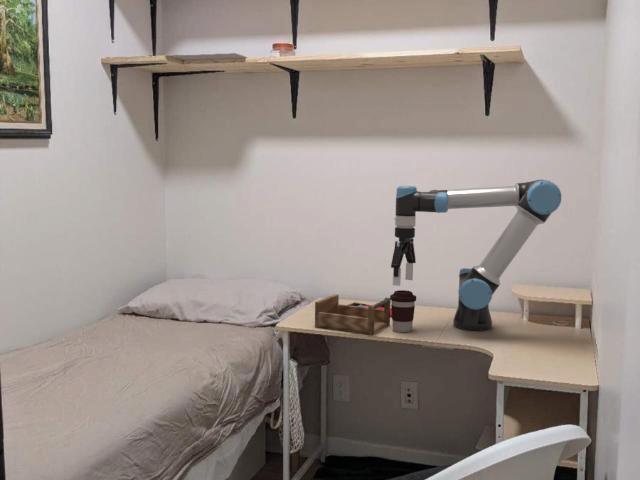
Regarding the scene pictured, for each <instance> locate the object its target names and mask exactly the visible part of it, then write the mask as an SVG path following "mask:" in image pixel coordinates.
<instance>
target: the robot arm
mask: <svg viewBox="0 0 640 480" xmlns="http://www.w3.org/2000/svg"><path fill="white" fill-rule="evenodd" d="M395 193H396V195H395V217H394V225H395V228H394V237H395V238H398V240H395V242H394V249H393V253H392V259H391V264H390V268H392V269H393V272H392V274H393V275H392V286H398V287H400V286H401V279H402V278H401V277H402V268H401V265H402V262H403V259H404V257H405V259H406V263H405V274H404V275H405V279H404V280H407V281H413V277H414V276H413V275H414V264H416V262H417V261H416V252H415V243H414V238H415V237H416V228H415V227H416V217H417V216H416V215H417V214H416V212H417V213H419V212H421V213H438V214H440V213H445V214H446V213H448V211H449V210H452V209H453V210H454V209H455V210H456V209H473V208H474V209H475V208H496V207H500V208H501V207H515V208H516V209H517V210H516V211H517V212H516V213H515V214H514V216H513V217H512V219H511V220H510V222H509V223H508V225H507V226H506V227H505V229H504V230H503V231H502V233H501V234H500V236H499V237H498V239H497V240H496V241H495V243H494V244H493V246H492V247H491V248H490V250H489V251H488V252H487V254H486V255H485V257H484V258H483V260H482V261H481V263H480V264H478V265H473V266H472V268H467V267H465V268H461V269H460V270H459V274H458V277H459V280H458V281H459V283H458V301H457V302H458V303H457V309H456V312H455V314H454V316H453V319H452V326H453V327H455V328H457V329H461V330H465V331H488V330H491V329H492V328H493V320H492V319H493V318H492V316H491V312H490V308H489V307H490V305H489V304H490V302H491V301H492V299H493V295H494V294H495V292H496V291H497V290H498V288H499V286H500V285H501V282H500V278H501V277H502V275H503V274H504V272H506V269H507V268H508V267H509V266H510V264H511V263H512V262H513V260H514V259H515V257H516V256H517V254H518V253H519V251H520V250H521V249H522V247H523V246H524V245H525V243H526V242H527V240H528V239H529V238H530V237H531V235H532V234H533V233H534V231H535V230H536V228H537V227H538V226H539V225H541V224H545V223H546V221H548V219H549V217H550V216H551V215H552V213H555V212H556V210H557V209H558V208H559V207H560V206H561V204H562V203H561V202H562V192H561V190H560V188H559V186H558V185H556V184H555V182H553V181H551V180H547V179H536V180H532V181H526V182H518V183H516V184H515V185H512V186H511V185H508V186H506V185H505V186H495V187H494V186H492V187H491V186H490V187H474V188H473V187H472V188H470V187H469V188H456V189H455V188H454V189H440V190H438V189H432V190H430V191H419V190H418V188H417V186H415V185H399V186H398V187H397V188H396V192H395Z"/></svg>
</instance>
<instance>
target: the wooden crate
mask: <svg viewBox="0 0 640 480" xmlns="http://www.w3.org/2000/svg"><path fill="white" fill-rule="evenodd" d="M339 299H340V296H339V294H338V293H337V294H336V293H335V294H332V295H329V296H328V297H325V298H322V299H319V300H317V301H315V302H314V328H317V329H323V330H331V331H337V332H344V333H345V332H346V333H353V334H358V335H367V336H374V335H375V334H377V333H379V332H381V331H383V330H384V329H387V328H388V327H389V326H391V317H390V308H391V303H392V300H390V297H385V298H384V299H383V300H381V301H379V302H377V303H375V304H373V305H372V304H368V305H369V306H368V308H366V307H358V306H349V304H339ZM382 305H384V310H383V309H376V308H378V307H380V306H382Z"/></svg>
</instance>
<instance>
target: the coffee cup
mask: <svg viewBox="0 0 640 480" xmlns="http://www.w3.org/2000/svg"><path fill="white" fill-rule="evenodd" d="M389 295H390V296H389V298H390V300H391V303H390V308H391V311H392V317H391V320H392V321H391V322H392V330H393V331H394V332H396V333H409V332H411V331H412V330H413V322H414V317H415V302H416V301H417V296H416V295H415V294H413V292H412V291H410V290H403V289H402V290H401V289H399V290H394V292H393V294H389Z"/></svg>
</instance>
